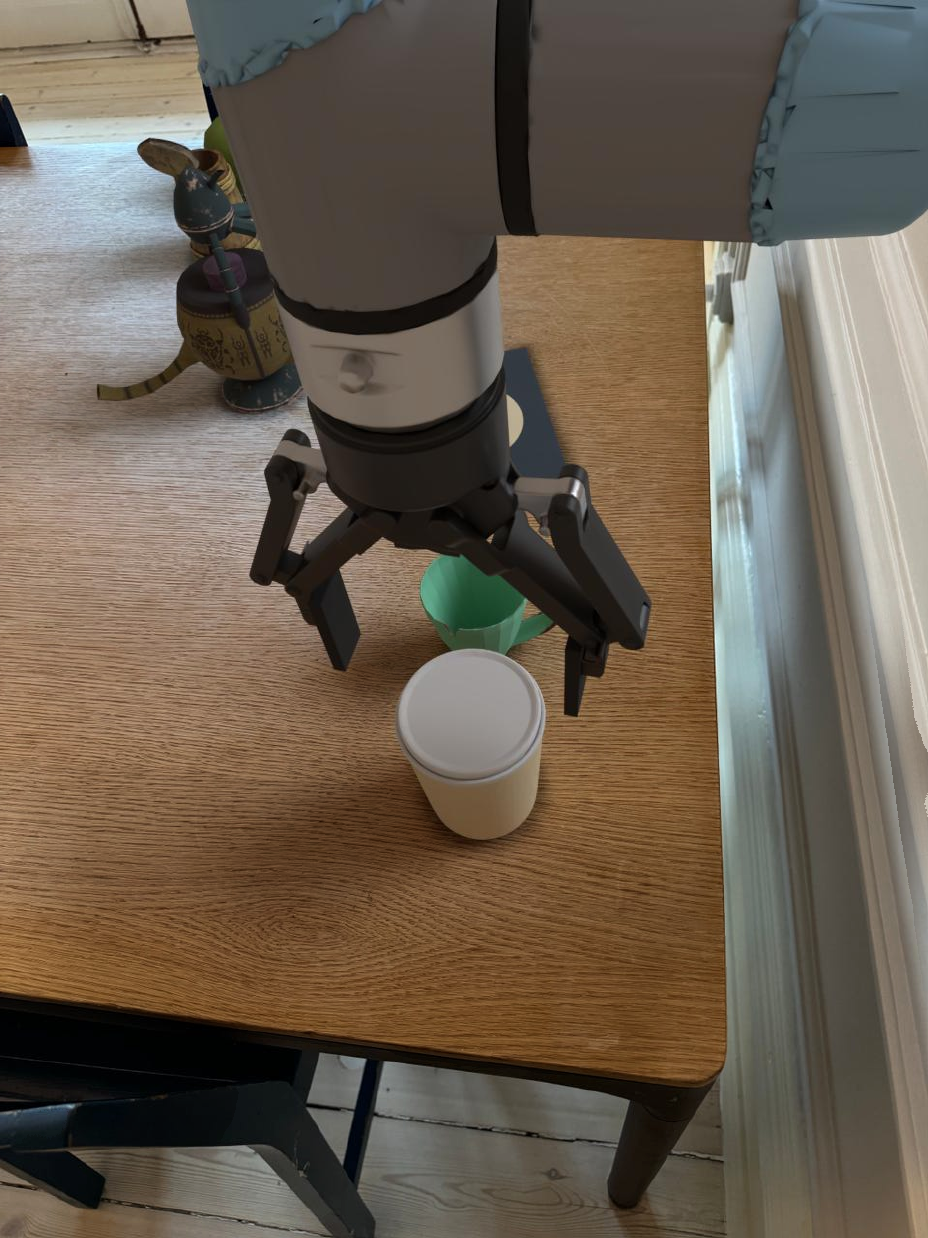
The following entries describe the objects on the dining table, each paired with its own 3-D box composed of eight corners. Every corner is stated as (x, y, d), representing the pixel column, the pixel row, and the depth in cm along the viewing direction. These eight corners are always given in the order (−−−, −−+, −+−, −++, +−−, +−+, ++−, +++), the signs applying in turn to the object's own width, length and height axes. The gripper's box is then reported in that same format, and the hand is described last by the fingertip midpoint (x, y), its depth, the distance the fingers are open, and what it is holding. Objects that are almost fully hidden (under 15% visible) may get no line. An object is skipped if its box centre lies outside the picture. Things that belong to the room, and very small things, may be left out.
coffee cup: (567, 757, 62) (567, 670, 53) (518, 873, 58) (508, 802, 48) (453, 715, 65) (433, 626, 56) (397, 822, 61) (365, 746, 51)
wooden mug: (173, 294, 103) (107, 140, 88) (205, 231, 110) (149, 80, 96) (243, 293, 101) (188, 136, 87) (270, 229, 109) (224, 75, 94)
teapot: (360, 391, 89) (305, 167, 70) (124, 469, 85) (-1, 255, 66) (329, 328, 96) (271, 108, 77) (110, 398, 92) (-8, 185, 73)
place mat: (571, 482, 78) (571, 478, 78) (400, 515, 78) (399, 511, 78) (526, 349, 90) (525, 345, 90) (377, 378, 90) (376, 374, 89)
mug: (440, 698, 66) (426, 640, 60) (427, 616, 71) (412, 554, 64) (591, 670, 67) (594, 608, 60) (568, 590, 71) (568, 525, 65)
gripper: (62, 401, 32) (235, 687, 50) (742, 489, 27) (670, 777, 44) (154, 284, 36) (284, 586, 54) (761, 340, 31) (688, 657, 48)
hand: (458, 673), depth 49 cm, fingers open, 13 cm apart
